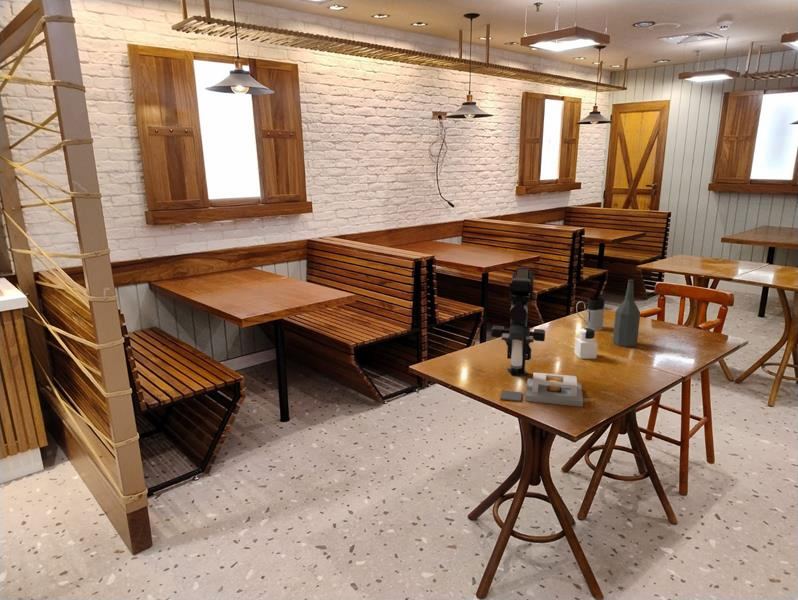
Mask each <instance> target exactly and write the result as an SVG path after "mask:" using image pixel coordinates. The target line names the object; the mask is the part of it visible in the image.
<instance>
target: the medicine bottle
mask: <svg viewBox="0 0 798 600" xmlns="http://www.w3.org/2000/svg"><path fill="white" fill-rule="evenodd" d="M595 332H596V330H593V329H590V328H585V327H584V328H580V329H579V335H578V336H579V337H576V338H575V339H574V350H573V351H574V354H575V356H576V357H578V358H579V359H580V360H585V359H586V360H587V359H588V360H590V359H592V360H593V359H595V360H596V359H597V356H598V355H597V353H598V346H599V345H598V342H597V341H596V340H595V335H596V334H595Z"/></svg>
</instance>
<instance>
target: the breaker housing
mask: <svg viewBox="0 0 798 600" xmlns="http://www.w3.org/2000/svg"><path fill="white" fill-rule="evenodd" d="M547 378H552V379H553V378H554V379H562V381H559V380H558V381H559V382H560V383H559V382H549V381H550V380H549V379H548V380H547ZM577 380H578V379H577V376H575V375H565V374H555V373H544V372H533V375H532V378H527V383H526V390H525V391H526V392H525V401H526V402H533V403H534V402H535V403H543V404H553V405H561V406H562V405H563V406H564V405H565V406H569V407H570V406H572V407H580V408H581V407H583V406H584V400H583V399H584V398H583V389H582V383H579V382H578V381H577ZM548 385H551V386H560V390H559V391H551V390H549V389H548Z"/></svg>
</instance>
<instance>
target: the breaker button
mask: <svg viewBox="0 0 798 600" xmlns="http://www.w3.org/2000/svg"><path fill="white" fill-rule="evenodd" d="M549 382H559V380H556V379H555V380H554V379H551V380H549ZM560 382H561V381H560ZM560 382H559V383H560ZM548 389H549V390H551V391H559V390H560V386H551V385H548ZM551 391H550V392H551Z"/></svg>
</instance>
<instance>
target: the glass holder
mask: <svg viewBox="0 0 798 600" xmlns="http://www.w3.org/2000/svg"><path fill="white" fill-rule="evenodd" d="M605 301H606V299H605V298H603V297H597V296H592V297H588V301H587V302H588V304H587V308H586V303H585V301H582V300H581V301H580V300H579V301H578V302H577V303H576V307H575V309H576V314H577V316H578V317H579V318H580V319H581V320H582V321H584V323H585V326H584V328H590V329H593V330H594V331H603V330H604V316H605ZM579 303H583V305H584V310H585V311H586V320H585V319H584V318H583V317H581V315H580V313H579V311H578V305H579ZM602 329H603V330H602Z"/></svg>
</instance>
